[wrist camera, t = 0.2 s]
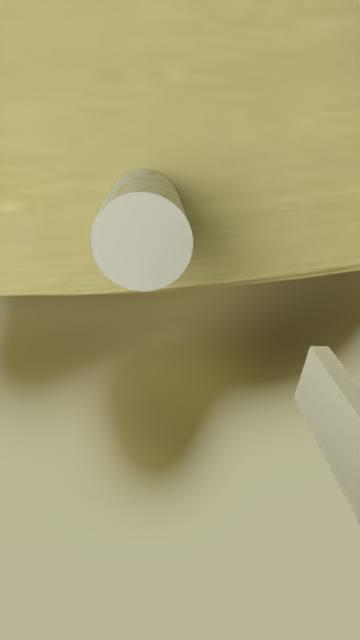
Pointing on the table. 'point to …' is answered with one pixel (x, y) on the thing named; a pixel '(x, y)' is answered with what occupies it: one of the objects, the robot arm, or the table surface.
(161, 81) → the table surface
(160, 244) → the white patterned canister
